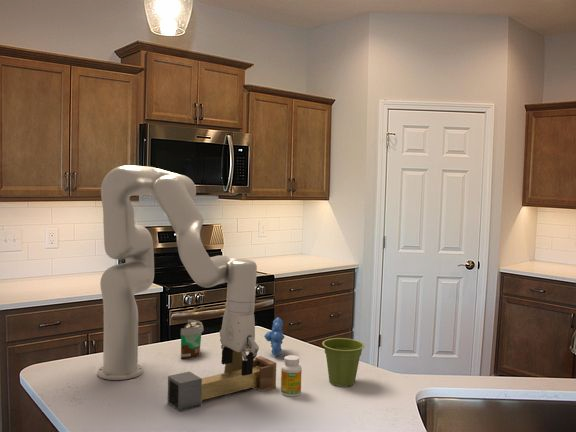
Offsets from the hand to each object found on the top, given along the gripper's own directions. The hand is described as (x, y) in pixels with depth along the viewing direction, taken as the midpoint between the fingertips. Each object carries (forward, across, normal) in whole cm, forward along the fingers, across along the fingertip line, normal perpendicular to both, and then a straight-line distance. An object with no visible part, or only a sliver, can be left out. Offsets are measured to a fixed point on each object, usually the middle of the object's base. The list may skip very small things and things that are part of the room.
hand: (236, 368), depth 152 cm
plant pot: (+5, +12, +28) cm, 31 cm away
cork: (+6, -10, +6) cm, 13 cm away
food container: (+7, -34, +6) cm, 35 cm away
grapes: (+6, -20, +28) cm, 35 cm away
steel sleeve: (+6, +1, -16) cm, 17 cm away
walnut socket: (+6, +1, +8) cm, 10 cm away
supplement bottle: (+6, +10, +11) cm, 16 cm away
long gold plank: (+6, +1, -3) cm, 7 cm away
